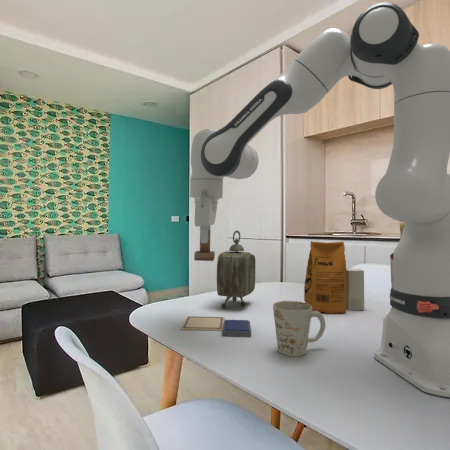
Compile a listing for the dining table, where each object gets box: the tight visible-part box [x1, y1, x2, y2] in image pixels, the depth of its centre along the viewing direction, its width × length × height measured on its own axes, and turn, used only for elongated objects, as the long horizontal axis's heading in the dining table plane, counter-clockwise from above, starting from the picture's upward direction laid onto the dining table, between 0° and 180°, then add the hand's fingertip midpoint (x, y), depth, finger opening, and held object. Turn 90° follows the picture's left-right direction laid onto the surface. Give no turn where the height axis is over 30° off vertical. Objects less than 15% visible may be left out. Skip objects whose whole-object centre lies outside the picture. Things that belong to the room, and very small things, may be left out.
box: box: [346, 268, 365, 311], centre depth 109 cm, size 5×4×13 cm
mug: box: [272, 300, 326, 357], centre depth 74 cm, size 8×13×10 cm, turn 111°
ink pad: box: [221, 319, 252, 338], centre depth 86 cm, size 9×7×2 cm
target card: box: [180, 315, 226, 331], centre depth 91 cm, size 11×11×1 cm
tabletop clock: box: [216, 230, 256, 309], centre depth 111 cm, size 14×9×25 cm, turn 160°
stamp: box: [194, 229, 216, 262], centre depth 91 cm, size 5×5×8 cm
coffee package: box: [303, 240, 347, 315], centre depth 107 cm, size 10×12×22 cm
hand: (205, 242), depth 91 cm, fingers closed on stamp, 3 cm apart
